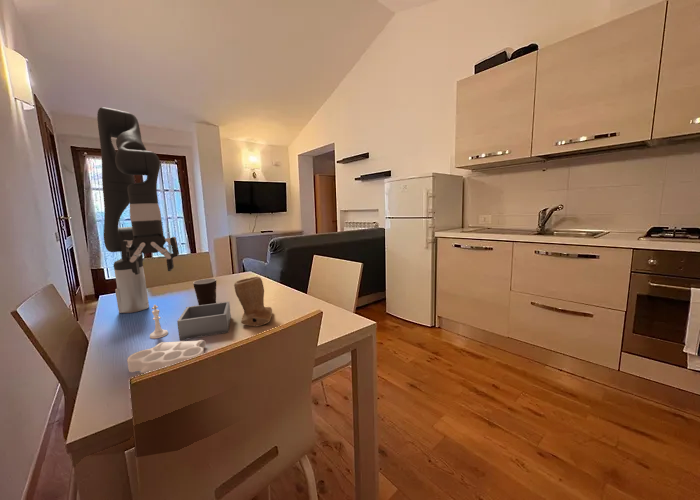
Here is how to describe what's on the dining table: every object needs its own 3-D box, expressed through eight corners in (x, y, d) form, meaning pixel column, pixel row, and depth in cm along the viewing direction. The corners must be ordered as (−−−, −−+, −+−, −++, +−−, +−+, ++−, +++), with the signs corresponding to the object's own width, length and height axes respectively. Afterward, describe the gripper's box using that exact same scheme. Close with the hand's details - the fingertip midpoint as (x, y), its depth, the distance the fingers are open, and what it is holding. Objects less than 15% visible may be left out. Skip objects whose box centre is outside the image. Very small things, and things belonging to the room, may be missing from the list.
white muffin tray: (217, 347, 84) (192, 376, 69) (153, 350, 83) (114, 381, 69) (216, 336, 83) (191, 363, 69) (151, 339, 83) (112, 368, 68)
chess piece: (171, 333, 94) (167, 303, 92) (156, 339, 89) (151, 308, 88) (161, 330, 96) (157, 301, 94) (146, 337, 91) (141, 306, 90)
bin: (179, 340, 88) (177, 321, 87) (188, 323, 101) (186, 306, 100) (227, 332, 92) (226, 314, 92) (230, 317, 105) (229, 301, 104)
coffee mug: (212, 308, 116) (210, 283, 115) (191, 308, 117) (188, 284, 115) (225, 298, 128) (223, 276, 126) (206, 299, 128) (203, 277, 127)
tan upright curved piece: (241, 313, 109) (237, 274, 106) (274, 310, 111) (270, 272, 108) (232, 330, 94) (227, 285, 92) (270, 326, 96) (266, 282, 94)
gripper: (176, 218, 93) (182, 267, 95) (122, 220, 88) (130, 272, 91) (171, 218, 86) (178, 272, 88) (112, 221, 81) (121, 277, 84)
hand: (153, 272), depth 89 cm, fingers open, 8 cm apart
